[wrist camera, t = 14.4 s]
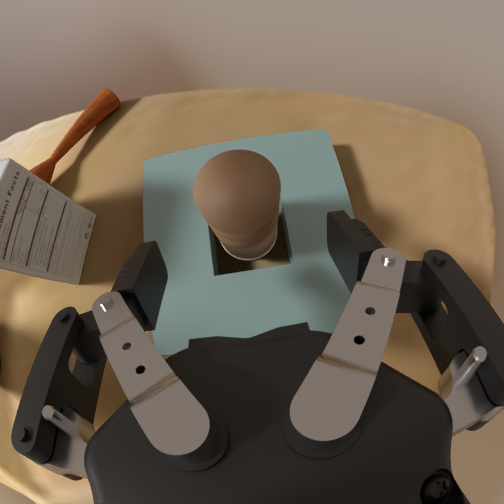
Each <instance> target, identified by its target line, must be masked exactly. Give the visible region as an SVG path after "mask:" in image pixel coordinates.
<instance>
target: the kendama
mask: <svg viewBox="0 0 504 504" xmlns="http://www.w3.org/2000/svg"><path fill="white" fill-rule="evenodd" d="M120 105H121V104H120V101H119V99H118V97H117V96H116V95H115V94H114V93H113V92H112V91H111V90H109V89H107V88H105V89H103V90H102V91H101V92H100V93H99V94H98V96H97V97H96V98H95V99H94V100H93V101H92V103H91V104H90V105H89V106H88V107H87V108H86V110H85V111H84V112H83V113H82V114H81V116H80V117H79V118H78V119H77V121H76V122H75V123H74V125H73V126H72V127H71V129H70V130H69V131H68V133H67V134H66V135H65V137H64V138H63V140H62V141H61V142H60V144H59V145H58V147H57V148H56V150H55V151H54V153H53V154H52V156H51V157H50V158H49V159H48V160H46V161H44V162H42V163H41V164H39V165H38V166H36V167H34V168H33V169H31V170H30V172H31V173H33V174H34V175H36V176H37V177H39V178H40V179H42V180H43V181H45V182H46V183H48V184H49V185H50V182H51V179H52V175H53V172H54V168H55V165H56V163H57V162H58V161H59V160H60V159H61V158H62V157H63V156H64V155H65V154H66V153H67V152H68V151H69V150H70V149H71V148H72V147H73V146H74V145H75V144H76V143H77V142H78V141H79V140H80V139H81V138H83V137H84V136H85V135H86V134H87V133H88V132H89V131H90V130H91V129H93V128H94V127H95V126H96V125H97V124H98V123H100V122H101V121H102V120H103V119H104V118H106V117H107V116H108V115H109V114H110V113H112V112H113V111H114V110H115V109H117V108H118V107H119V106H120Z"/></svg>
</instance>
